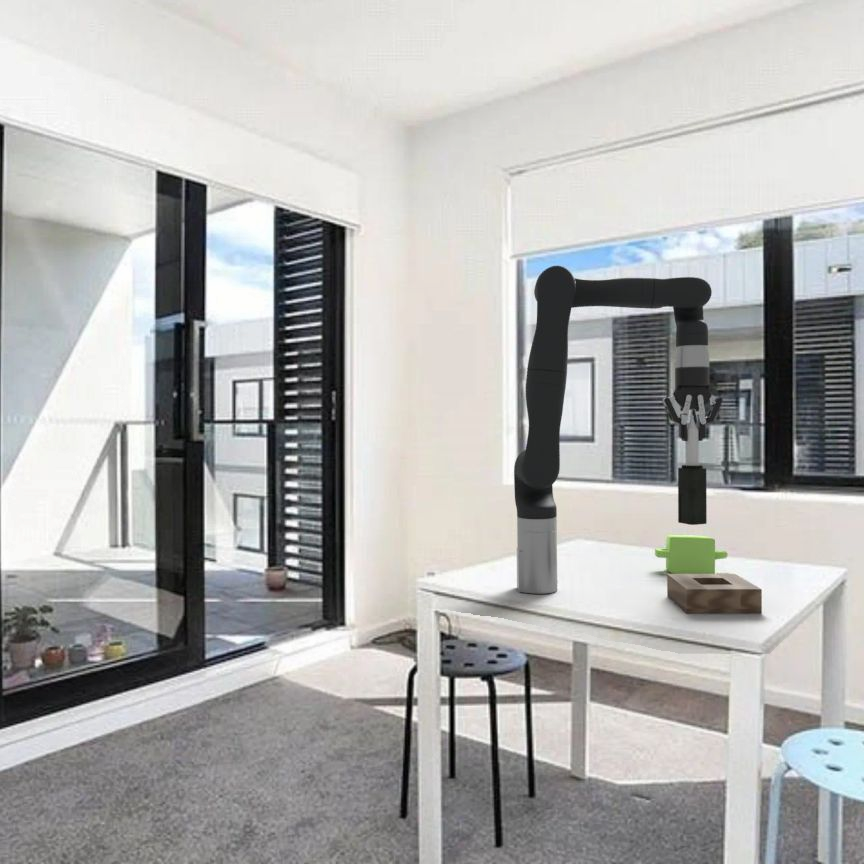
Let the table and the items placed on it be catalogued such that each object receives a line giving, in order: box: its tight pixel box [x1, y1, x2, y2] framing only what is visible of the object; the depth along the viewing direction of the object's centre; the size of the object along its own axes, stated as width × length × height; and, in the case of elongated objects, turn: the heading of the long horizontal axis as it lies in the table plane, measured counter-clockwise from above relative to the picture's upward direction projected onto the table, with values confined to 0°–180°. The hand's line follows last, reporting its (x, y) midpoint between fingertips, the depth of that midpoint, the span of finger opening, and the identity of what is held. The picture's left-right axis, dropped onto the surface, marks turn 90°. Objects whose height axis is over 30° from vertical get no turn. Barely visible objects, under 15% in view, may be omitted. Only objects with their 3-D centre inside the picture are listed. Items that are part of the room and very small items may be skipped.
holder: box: [666, 573, 763, 615], centre depth 159 cm, size 15×15×5 cm
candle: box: [677, 414, 708, 526], centre depth 172 cm, size 5×5×25 cm
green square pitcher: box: [654, 534, 729, 574], centre depth 193 cm, size 18×10×10 cm, turn 83°
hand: (692, 440), depth 172 cm, fingers closed on candle, 3 cm apart
